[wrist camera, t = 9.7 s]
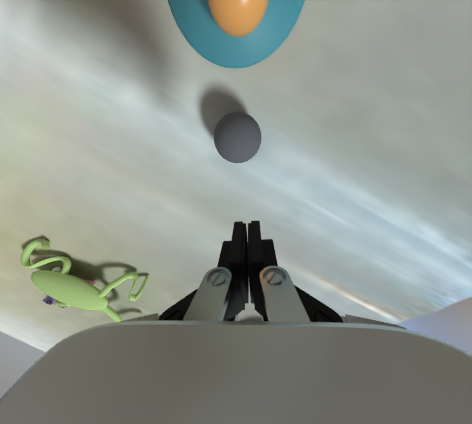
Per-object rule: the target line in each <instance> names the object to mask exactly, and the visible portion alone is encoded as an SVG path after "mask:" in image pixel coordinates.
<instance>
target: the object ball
mask: <svg viewBox="0 0 472 424" xmlns="http://www.w3.org/2000/svg"><path fill="white" fill-rule="evenodd" d="M208 4H209V8H210V11H211V14H212V16H213V18H214V20H215V22H216V23H217V25H218V26H219V27H220V28H221V29H222V30H223V31H224V32H225V33H227V34H229V35H231V36H235V37H241V36H245V35H247V34H249V33H251V32H252V31H253V30H254V29H255V28H256V27H257V26H258V25H259V23H260V22H261V20H262V18H263V16H264V14H265V11H266V8H267V5H268V0H208Z"/></svg>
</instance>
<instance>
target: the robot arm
mask: <svg viewBox="0 0 472 424" xmlns="http://www.w3.org/2000/svg"><path fill="white" fill-rule="evenodd" d="M249 284H250V295H251V303H254V304H255V310H256V311H257V312H258V313H259V314H260V315H262V321H237V319H238V315H237V314H238V313H240V312H241V311H242V310H245V303H248V290H249ZM0 424H472V355H470V354H468V353H467V352H465V351H463V350H461V349H460V348H458V347H455V346H453V345H451V344H449V343H447V342H444V341H442V340H439V339H437V338H434V337H431V336H428V335H425V334H422V333H418V332H415V331H411V330H407V329H406V328H404V327H401V326H398V325H395V324H390V323H385V322H380V321H376V320H371V319H366V318H361V317H356V316H351V315H347V314H345V317H344V316H339V314H338V313H336V312H335V311H334V310H332V309H331V308H329V307H328V306H326V305H325V304H323V303H321V302H320V301H318V300H317V299H315V298H314V297H312V296H311V295H309V294H307V293H306V292H304V291H303V290H301V289H300V288H298V287H296V286H295V285H293V282H292V280H291V278H290V276H289V274H288V273H287V271H286V270H284V269H283V268H281V267H278V265H277V260H276V255H275V250H274V244H273V240H272V239H266V240H261V233H260V222H259V221H251V223H248V242H247V230H246V223H245V224H243V222H234V228H233V234H232V241H224V242H223V245H222V249H221V253H220V258H219V262H218V266H217V267H216V268H213V269H211V270H209V271H208V272H207V273H206V274H205V276H204V278H203V280H202V282H201V284H200V286H199V288H198V289H196V290H195V291H193V292H192V293H190V294H189V295H188V296H186V297H185V298H183V299H182V300H180V301H179V302H177V303H176V304H174V305H173V306H171V307H170V308H168V309H167V310H166V311H165V312H163V313H162V315H159V314H158V313H156V314H152V315H147V316H142V317H138V318H133V319H129V320H124V321H120V322H115V323H108V324H103V325H99V326H95V327H92V328H89V329H86V330H83V331H80V332H78V333H75V334H73V335H71V336H69V337H67V338H65V339H63V340H62V341H60V342H59V343H57V344H56V345H55V346H53V347H52V348H51V349H49V350H48V351H47V352H46V353H45V354H44V355H43V356H42V357H41V358H40V359H39V360H37V361H36V362H35V363H34V364H33V365H32V366H31V367H30V368H29V370H27V371H26V372H25V373H24V374H23V375H22V376H21V377H20V379H19V380H18V381H17V382H16V383H15V384H14V385H13V386H12V387H11V388H10V389H9V390H8V391H7V392H6V393H5V395H3V397H2V398H1V399H0Z"/></svg>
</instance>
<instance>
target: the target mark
mask: <svg viewBox="0 0 472 424" xmlns="http://www.w3.org/2000/svg"><path fill="white" fill-rule="evenodd" d="M304 1H305V0H268V5H267V8H266V11H265V14H264V16H263V18H262V20H261V22H260V23H259V25H258V26H257V27H256V28H255V29H254V30H253V31H252V32H251V33H249V34H247V35H245V36H241V37H235V36H231V35H229V34H227V33H225V32H224V31H223V30H222V29H221V28H220V27H219V26H218V25H217V23H216V22H215V20H214V18H213V16H212V14H211V11H210V8H209V4H208V0H169V4H170V7H171V10H172V13H173V15H174V18H175V20H176V22H177V25H178V26H179V28H180V30H181V32H182V34H183V35H184V37H185V38H186V39H187V41H188V42H189V44H190V45H191V46H192V47H193V48H194V49H195V50H196V51H197V52H198V53H199V54H200V55H201V56H203V57H204V58H206V59H207V60H209V61H210V62H212V63H215V64H217V65H219V66H223V67H228V68H242V67H247V66H251V65H253V64H256V63H258V62H260V61H261V60H263V59H265V58H266V57H268V56H269V55H270V54H272V53H273V52H274V51H275V50H276V49H277V48H278V47H279V46H280V45H281V44H282V42H283V41H284V40H285V39H286V37H287V36H288V34H289V33H290V31H291V30H292V28H293V26H294V24H295V22H296V20H297V18H298V16H299V14H300V12H301V9H302V6H303V4H304Z"/></svg>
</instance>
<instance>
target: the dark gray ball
mask: <svg viewBox="0 0 472 424" xmlns="http://www.w3.org/2000/svg"><path fill="white" fill-rule="evenodd" d="M214 142H215V146H216V149H217V151H218V152H219V154H220V155H221V156H222V157H223V158H224V159H226V160H227V161H230V162H233V163H242V162H246V161H248V160H249V159H251V158H252V157H253V156H254V155H255V154H256V153H257V151H258V149H259V147H260V144H261V131H260V128H259V125H258V124H257V122H256V121H255V120H254V119H253V118H252V117H251V116H250V115H248V114H246V113H242V112H233V113H230V114H227V115H226V116H224V117H223V118H222V119H221V120H220V121H219V123H218V124H217V126H216V129H215V133H214Z"/></svg>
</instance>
